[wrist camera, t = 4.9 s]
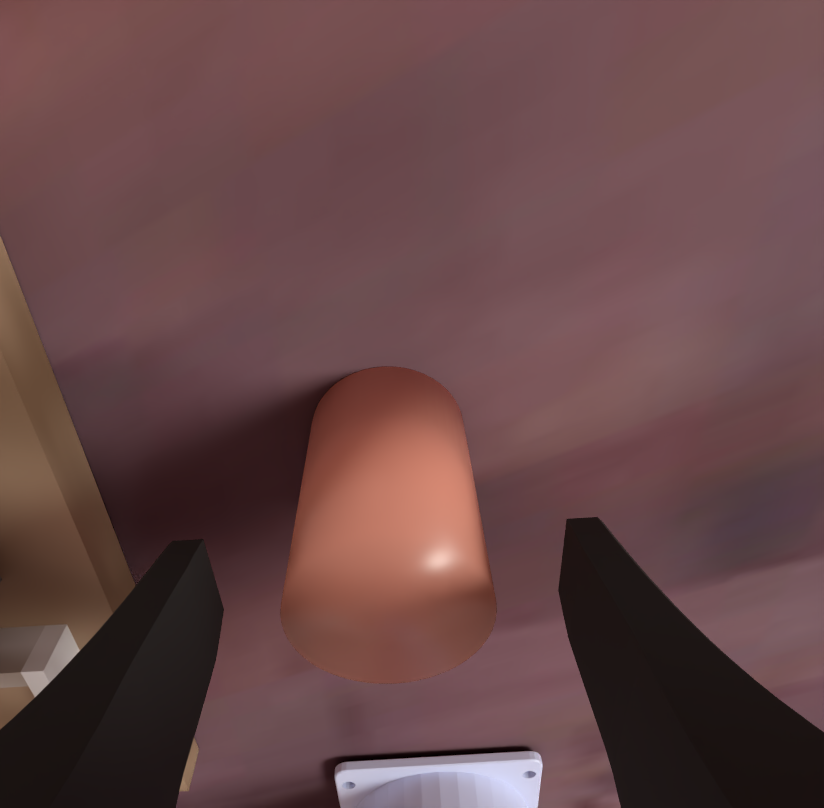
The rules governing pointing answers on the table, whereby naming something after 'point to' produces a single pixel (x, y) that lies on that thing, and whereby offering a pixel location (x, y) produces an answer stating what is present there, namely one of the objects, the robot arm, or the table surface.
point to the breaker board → (47, 522)
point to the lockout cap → (388, 535)
